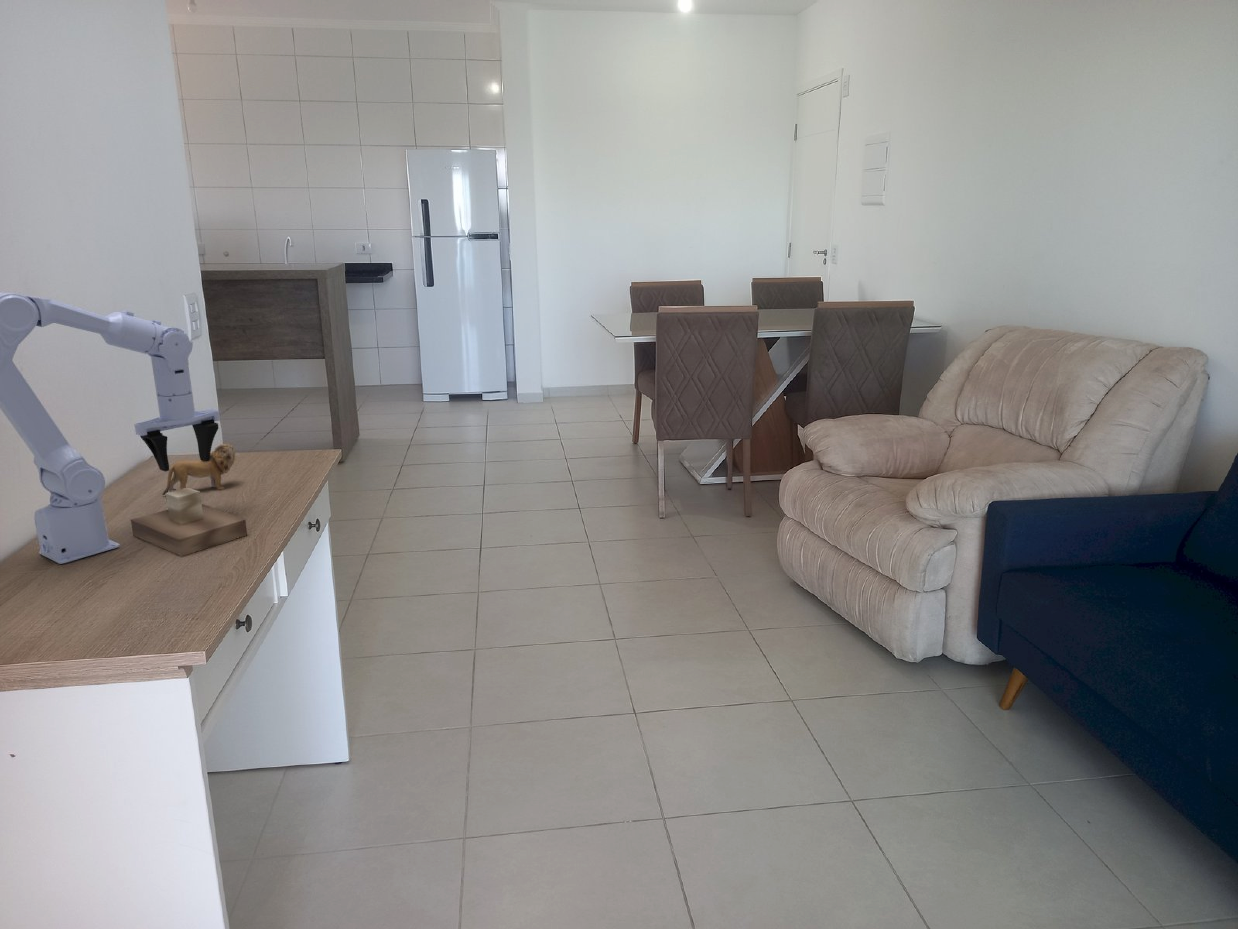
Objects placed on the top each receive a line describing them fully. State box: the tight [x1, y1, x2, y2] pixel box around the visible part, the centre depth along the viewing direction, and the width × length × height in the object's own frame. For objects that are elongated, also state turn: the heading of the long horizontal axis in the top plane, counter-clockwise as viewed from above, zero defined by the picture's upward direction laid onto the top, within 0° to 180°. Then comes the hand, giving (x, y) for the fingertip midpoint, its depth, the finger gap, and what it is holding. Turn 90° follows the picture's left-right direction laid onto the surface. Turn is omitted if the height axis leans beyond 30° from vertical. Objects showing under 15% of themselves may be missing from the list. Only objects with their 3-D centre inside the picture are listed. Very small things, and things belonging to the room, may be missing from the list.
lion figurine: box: [161, 443, 236, 496], centre depth 172 cm, size 15×5×9 cm, turn 131°
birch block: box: [165, 487, 203, 525], centre depth 148 cm, size 4×4×5 cm
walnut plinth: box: [130, 503, 248, 557], centre depth 148 cm, size 12×16×3 cm
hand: (185, 465), depth 154 cm, fingers open, 7 cm apart
